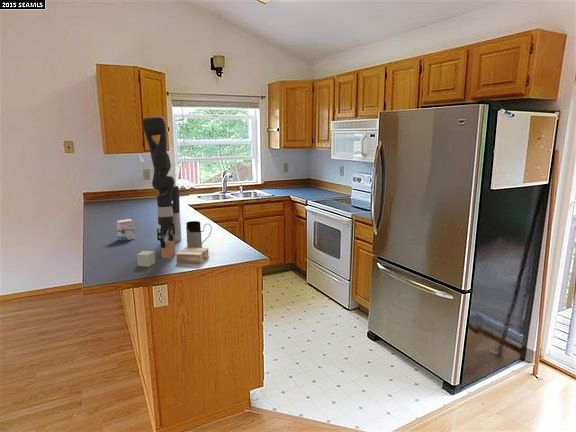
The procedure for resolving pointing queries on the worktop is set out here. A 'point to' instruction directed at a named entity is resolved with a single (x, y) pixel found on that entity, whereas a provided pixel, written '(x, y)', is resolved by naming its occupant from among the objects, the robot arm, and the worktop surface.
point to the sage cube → (146, 258)
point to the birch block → (192, 255)
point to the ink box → (125, 229)
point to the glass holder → (194, 234)
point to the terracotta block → (168, 249)
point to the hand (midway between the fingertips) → (167, 245)
